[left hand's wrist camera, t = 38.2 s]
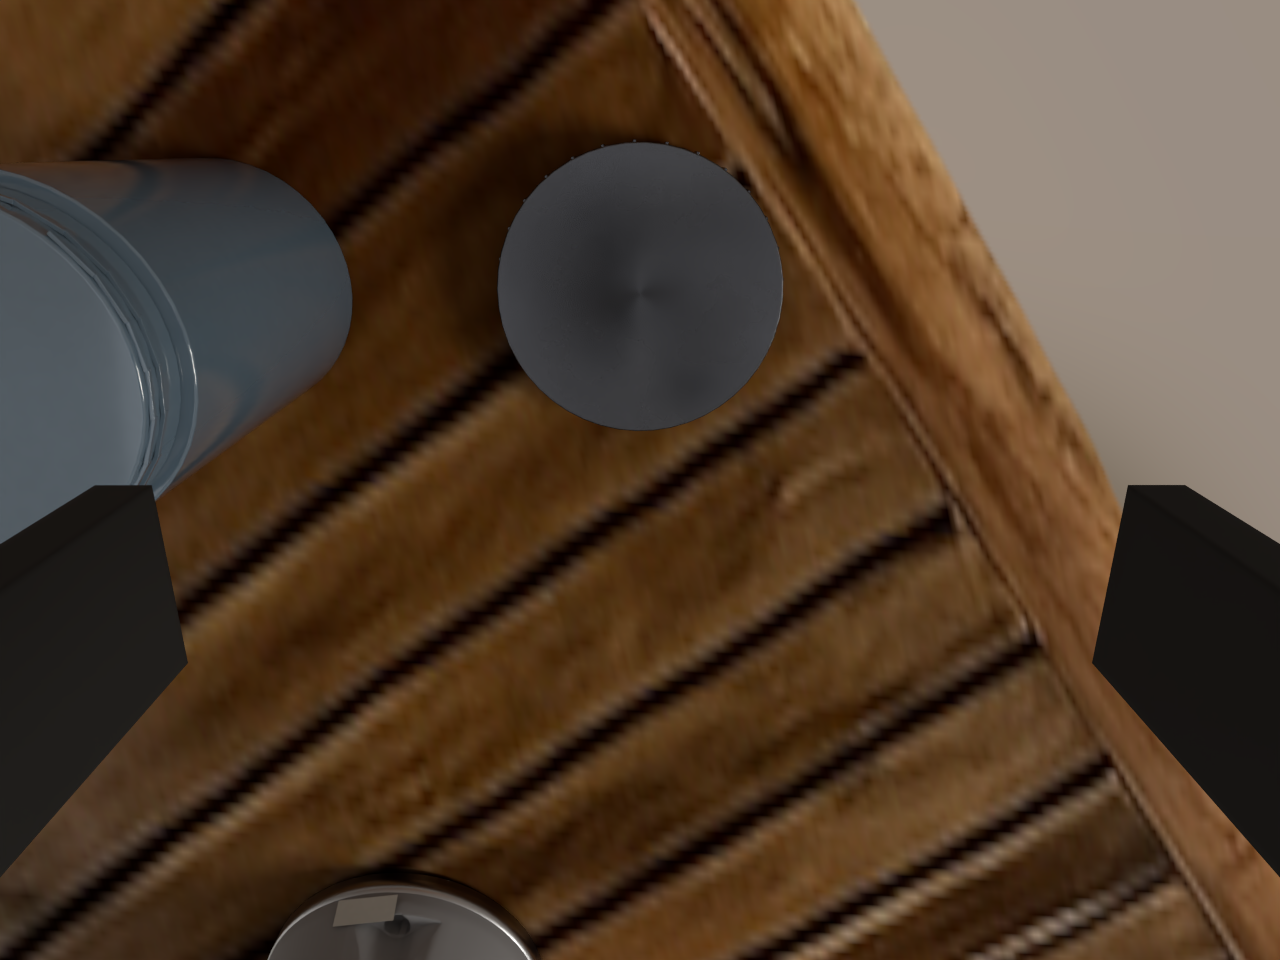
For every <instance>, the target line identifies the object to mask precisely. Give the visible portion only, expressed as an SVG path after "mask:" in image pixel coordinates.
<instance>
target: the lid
mask: <svg viewBox="0 0 1280 960" xmlns="http://www.w3.org/2000/svg"><path fill="white" fill-rule="evenodd" d="M668 143H669V142H665V143H664V144H662V143H652V142H636V140H633V142H625V143H619V144H614V145H608V146H605V144H603V145H601V148H598V149H595V150H592V151H589V152H586V153H584V154H582V155H580V156H578V157H576V156H573V157H571V159H572V160H570V161H568V162H567V163H565V164H564V165H562V166H561V167H559V168H558V169H556V170H555V171H553V172H552V173H551V174H548V175H546V176H544V177H545V179H544V180H543V181H542V182H541V183H540V184H539V185H538V186H537V187H536V188H535V189H534V190H533V192H532V193H531V194H530V195H529V196H528V197H527V198H525V199H524V200H523V202H524V203H523V205H522V206H521V208H520V209H519V211H518V212H517V214H516V215H515V217H514V220H513V222H512V224H511V226H509V227H508V232H507V235H506V238H505V241H504V245H503V248H502V251H501V256H500V257H499V260H500V262H499V267H498V281H497V294H498V305H499V312H500V316H501V321H502V325H503V329H504V331H505V334H506V337H507V340H508V343H509V345H510V347H511V349H512V351H513V353H514V355H515V357H516V359H517V361H518V362H519V364H520V365H521V367H522V368H523V370H524V371H525V372H526V374H527V375H528V377H529V378H530V379H531V380H532V381H533V382H534V383H535V385H536V386H537V387H538V388H539V389H540V390H541V391H542V392H543V393H545V394H546V395H547V396H548V397H549V398H550V399H551V400H552V401H554V402H555V403H557V404H558V405H560V406H561V407H563V408H564V409H566V410H567V411H569V412H571V413H573V414H575V415H576V416H578V417H580V418H582V419H585V420H587V421H590V422H593V423H596V424H598V425H602V426H606V427H610V428H615V429H621V430H632V431H647V430H658V429H665V428H671V427H674V426H678V425H681V424H685V423H688V422H690V421H693V420H695V419H697V418H700V417H702V416H704V415H706V414H708V413H709V412H711V411H713V410H715V409H716V408H718V407H720V406H721V405H722V404H724V403H725V402H726V401H727V400H729V399H730V398H731V397H733V396H734V395H735V394H736V393H737V392H738V391H739V390H740V389H741V388H742V387H743V386H744V385H745V384H746V383H747V382H748V380H749V379H750V378H751V377H752V375H753V374H754V373H755V372H756V370H757V369H758V367H759V366H760V364H761V362H762V361H763V359H764V357H765V356H766V354H767V352H768V350H769V347H770V345H771V343H772V341H773V338H774V336H775V333H776V329H777V326H778V322H779V319H780V313H781V307H782V300H783V275H782V265H781V259H780V255H779V251H778V250H779V247H778V246H777V243H776V240H775V237H774V235H773V232H772V230H771V227H770V225H769V223H768V221H767V220H768V218H767V217H766V216H765V215H764V214H763V212H762V210H761V208H760V207H759V205H758V204H757V203H756V201H755V200H754V199H753V197H752V196H751V195H750V191H749V190H747V189H745V188H744V187H743V186H742V185H741V184H740V183H739V182H738V181H737V180H736V179H735V178H734V177H733V176H732V175H730V174H729V173H728V172H727V169H726V168H724V167H720V166H719V165H717V164H715V163H714V162H712V161H710V160H708V159H707V158H705V157H703V156H701V155H699V153H700V152H697V151H695V152H691V151H689V150H686V149H683V148H679V147H676V146H672V145H668Z"/></svg>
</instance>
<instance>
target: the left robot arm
mask: <svg viewBox="0 0 1280 960" xmlns="http://www.w3.org/2000/svg"><path fill="white" fill-rule="evenodd" d="M187 663H188V661H187V656H186V651H185V647H184V642H183V637H182V632H181V627H180V622H179V617H178V612H177V607H176V602H175V597H174V592H173V587H172V582H171V577H170V572H169V567H168V562H167V557H166V552H165V548H164V543H163V538H162V533H161V528H160V523H159V518H158V513H157V508H156V503H155V498H154V493H153V488H152V485H94V486H93V487H91V488H90V489H88V490H86V491H85V492H83V493H82V494H80V495H78V496H77V497H75V498H74V499H72V500H70V501H69V502H67V503H65V504H64V505H62V506H61V507H59V508H57V509H56V510H54V511H53V512H51V513H49V514H48V515H46V516H45V517H43V518H41V519H40V520H38V521H36V522H35V523H33V524H32V525H30V526H28V527H27V528H25V529H24V530H22V531H20V532H19V533H17V534H16V535H14V536H12V537H11V538H9V539H8V540H6V541H4V542H3V543H1V544H0V877H1V876H2V875H3V873H4V872H5V871H6V870H7V869H8V868H9V867H10V865H11V864H12V863H13V862H14V861H15V860H16V859H17V857H18V856H19V855H20V854H21V853H22V852H23V851H24V849H25V848H26V847H27V846H28V845H29V844H30V843H31V841H32V840H33V839H34V838H35V837H36V836H37V835H38V833H39V832H40V831H41V830H42V829H43V828H44V827H45V825H46V824H47V823H48V822H49V821H50V820H51V819H52V817H53V816H54V815H55V814H56V813H57V812H58V811H59V809H60V808H61V807H62V806H63V805H64V804H65V803H66V801H67V800H68V799H69V798H70V797H71V796H72V795H73V793H74V792H75V791H76V790H77V789H78V788H79V787H80V785H81V784H82V783H83V782H84V781H85V780H86V779H87V777H88V776H89V775H90V774H91V773H92V772H93V771H94V769H95V768H96V767H97V766H98V765H99V764H100V763H101V761H102V760H103V759H104V758H105V757H106V756H107V755H108V753H109V752H110V751H111V750H112V749H113V748H114V747H115V745H116V744H117V743H118V742H119V741H120V740H121V739H122V737H123V736H124V735H125V734H126V733H127V732H128V731H129V729H130V728H131V727H132V726H133V725H134V724H135V723H136V722H137V720H138V719H139V718H140V717H141V716H142V715H143V714H144V712H145V711H146V710H147V709H148V708H149V707H150V706H151V704H152V703H153V702H154V701H155V700H156V699H157V698H158V696H159V695H160V694H161V693H162V692H163V691H164V690H165V688H166V687H167V686H168V685H169V684H170V683H171V682H172V680H173V679H174V678H175V677H176V676H177V675H178V674H179V672H180V671H181V670H182V669H183V668H184V667H185V666H186V664H187ZM1092 663H1093V664H1094V666H1095V667H1096V668H1097V669H1098V670H1099V671H1100V672H1101V674H1102V675H1103V676H1104V677H1105V678H1106V679H1107V680H1108V682H1109V683H1110V684H1111V685H1112V686H1113V687H1114V688H1115V690H1116V691H1117V692H1118V693H1119V694H1120V695H1121V696H1122V698H1123V699H1124V700H1125V701H1126V702H1127V703H1128V704H1129V706H1130V707H1131V708H1132V709H1133V710H1134V711H1135V712H1136V714H1137V715H1138V716H1139V717H1140V718H1141V719H1142V720H1143V722H1144V723H1145V724H1146V725H1147V726H1148V727H1149V728H1150V729H1151V731H1152V732H1153V733H1154V734H1155V735H1156V736H1157V737H1158V739H1159V740H1160V741H1161V742H1162V743H1163V744H1164V745H1165V747H1166V748H1167V749H1168V750H1169V751H1170V752H1171V753H1172V755H1173V756H1174V757H1175V758H1176V759H1177V760H1178V761H1179V763H1180V764H1181V765H1182V766H1183V767H1184V768H1185V769H1186V771H1187V772H1188V773H1189V774H1190V775H1191V776H1192V777H1193V779H1194V780H1195V781H1196V782H1197V783H1198V784H1199V785H1200V787H1201V788H1202V789H1203V790H1204V791H1205V792H1206V793H1207V795H1208V796H1209V797H1210V798H1211V799H1212V800H1213V801H1214V803H1215V804H1216V805H1217V806H1218V807H1219V808H1220V809H1221V811H1222V812H1223V813H1224V814H1225V815H1226V816H1227V817H1228V819H1229V820H1230V821H1231V822H1232V823H1233V824H1234V825H1235V827H1236V828H1237V829H1238V830H1239V831H1240V832H1241V833H1242V835H1243V836H1244V837H1245V838H1246V839H1247V840H1248V841H1249V843H1250V844H1251V845H1252V846H1253V847H1254V848H1255V849H1256V851H1257V852H1258V853H1259V854H1260V855H1261V856H1262V857H1263V859H1264V860H1265V861H1266V862H1267V863H1268V864H1269V865H1270V867H1271V868H1272V869H1273V870H1274V871H1275V872H1276V873H1277V875H1278V876H1279V877H1280V544H1279V543H1277V542H1276V541H1274V540H1272V539H1271V538H1269V537H1268V536H1266V535H1264V534H1263V533H1261V532H1260V531H1258V530H1256V529H1255V528H1253V527H1252V526H1250V525H1248V524H1247V523H1245V522H1243V521H1242V520H1240V519H1239V518H1237V517H1235V516H1234V515H1232V514H1231V513H1229V512H1227V511H1226V510H1224V509H1223V508H1221V507H1219V506H1218V505H1216V504H1215V503H1213V502H1211V501H1210V500H1208V499H1206V498H1205V497H1203V496H1202V495H1200V494H1198V493H1197V492H1195V491H1194V490H1192V489H1190V488H1189V487H1187V486H1186V485H1128V488H1127V493H1126V498H1125V503H1124V508H1123V513H1122V518H1121V523H1120V528H1119V533H1118V538H1117V543H1116V548H1115V552H1114V557H1113V562H1112V567H1111V572H1110V577H1109V582H1108V587H1107V592H1106V597H1105V602H1104V607H1103V612H1102V617H1101V622H1100V627H1099V632H1098V637H1097V642H1096V647H1095V651H1094V656H1093V661H1092ZM268 960H541V957H540V955H539V952H538V950H537V948H536V946H535V944H534V942H533V940H532V939H531V937H530V936H529V934H528V933H527V931H526V930H525V929H524V927H523V926H522V925H521V924H520V923H519V922H518V921H517V920H516V919H515V918H514V917H513V916H512V915H511V914H510V913H509V912H508V911H507V910H505V909H504V908H503V907H502V906H500V905H499V904H498V903H496V902H494V901H493V900H491V899H490V898H488V897H487V896H485V895H483V894H481V893H479V892H477V891H475V890H473V889H471V888H468V887H466V886H464V885H461V884H458V883H455V882H452V881H449V880H446V879H442V878H438V877H433V876H427V875H421V874H412V873H380V874H372V875H366V876H361V877H356V878H352V879H349V880H346V881H342V882H340V883H337V884H335V885H332V886H330V887H328V888H326V889H324V890H322V891H320V892H318V893H317V894H315V895H314V896H312V897H311V898H309V899H308V900H306V901H305V902H304V903H303V904H302V905H300V906H299V907H298V908H297V909H296V910H295V911H294V912H293V913H292V915H291V916H290V917H289V918H288V920H287V921H286V922H285V924H284V926H283V928H282V929H281V931H280V933H279V935H278V937H277V940H276V942H275V944H274V946H273V948H272V950H271V953H270V955H269V958H268Z"/></svg>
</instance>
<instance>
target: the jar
mask: <svg viewBox="0 0 1280 960" xmlns="http://www.w3.org/2000/svg"><path fill="white" fill-rule="evenodd" d="M351 315H352V291H351V282H350V277H349V273H348V269H347V265H346V262H345V259H344V257H343V254H342V251H341V248H340V246H339V245H338V243H337V241H336V239H335V237H334V235H333V233H332V231H331V230H330V228H329V227H328V225H327V224H326V222H325V221H324V219H323V218H322V217H321V216H320V214H319V213H318V212H317V211H316V210H315V209H314V207H313V206H312V205H311V204H310V203H309V202H308V201H307V200H306V199H305V198H304V197H303V196H302V195H300V194H299V193H298V192H297V191H296V190H294V189H293V188H292V187H290V186H289V185H288V184H286V183H285V182H284V181H282V180H280V179H279V178H277V177H275V176H273V175H271V174H270V173H268V172H266V171H263V170H261V169H259V168H256V167H254V166H251V165H248V164H245V163H241V162H237V161H234V160H227V159H220V158H176V159H138V160H99V161H60V162H21V163H0V544H1V543H3V542H4V541H6V540H8V539H9V538H11V537H12V536H14V535H16V534H17V533H19V532H20V531H22V530H24V529H25V528H27V527H28V526H30V525H32V524H33V523H35V522H36V521H38V520H40V519H41V518H43V517H45V516H46V515H48V514H49V513H51V512H53V511H54V510H56V509H57V508H59V507H61V506H62V505H64V504H65V503H67V502H69V501H70V500H72V499H74V498H75V497H77V496H78V495H80V494H82V493H83V492H85V491H86V490H88V489H90V488H91V487H93V486H94V485H152V488H153V493H154V498H155V502H156V501H157V500H159V499H160V498H162V497H163V496H164V495H166V494H167V493H168V492H170V491H171V490H172V489H174V488H175V487H177V486H178V485H179V484H181V483H182V482H183V481H185V480H186V479H187V478H189V477H190V476H192V475H193V474H194V473H196V472H197V471H198V470H200V469H201V468H202V467H204V466H205V465H207V464H208V463H209V462H211V461H212V460H213V459H215V458H216V457H217V456H219V455H220V454H222V453H223V452H224V451H226V450H227V449H228V448H230V447H231V446H232V445H234V444H235V443H237V442H238V441H239V440H241V439H242V438H243V437H245V436H246V435H247V434H249V433H250V432H252V431H253V430H254V429H256V428H257V427H258V426H260V425H261V424H262V423H264V422H265V421H267V420H268V419H269V418H271V417H272V416H273V415H275V414H276V413H277V412H279V411H280V410H282V409H283V408H284V407H286V406H287V405H288V404H290V403H291V402H292V401H294V400H295V399H297V398H298V397H299V396H301V395H302V394H303V393H305V392H306V391H307V390H309V389H310V388H311V387H313V386H314V385H315V384H316V383H317V382H319V381H320V380H321V379H322V378H323V377H324V376H325V374H326V373H327V372H328V371H329V370H330V369H331V367H332V366H333V364H334V363H335V361H336V360H337V358H338V357H339V355H340V353H341V351H342V348H343V346H344V344H345V341H346V338H347V335H348V332H349V328H350V322H351Z"/></svg>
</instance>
